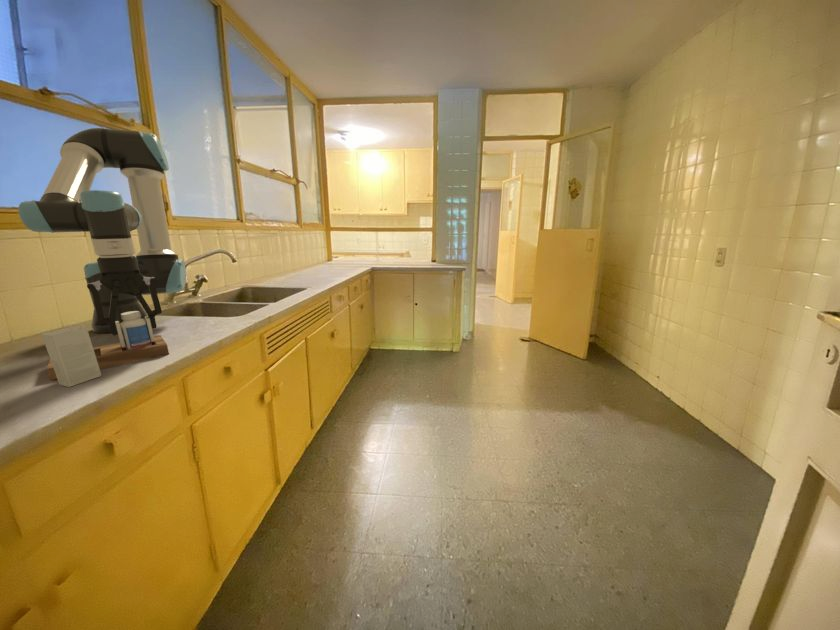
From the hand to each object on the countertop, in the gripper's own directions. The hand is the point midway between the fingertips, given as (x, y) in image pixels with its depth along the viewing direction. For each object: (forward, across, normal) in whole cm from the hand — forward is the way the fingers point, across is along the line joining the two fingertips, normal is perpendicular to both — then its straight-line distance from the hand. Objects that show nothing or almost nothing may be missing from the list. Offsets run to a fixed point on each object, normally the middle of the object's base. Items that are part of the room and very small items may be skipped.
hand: (138, 342), depth 90 cm
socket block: (+3, -6, 0) cm, 6 cm away
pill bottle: (+2, 0, 0) cm, 2 cm away
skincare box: (+4, -12, -11) cm, 16 cm away
